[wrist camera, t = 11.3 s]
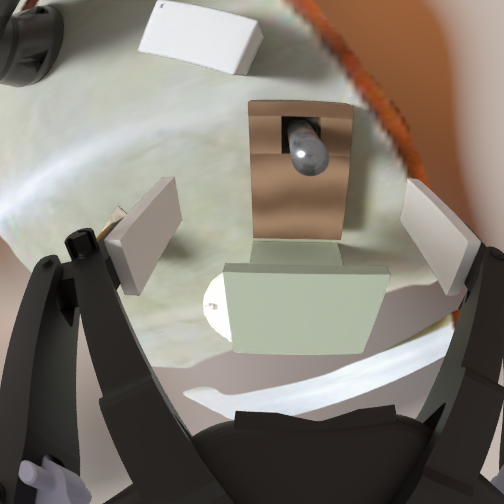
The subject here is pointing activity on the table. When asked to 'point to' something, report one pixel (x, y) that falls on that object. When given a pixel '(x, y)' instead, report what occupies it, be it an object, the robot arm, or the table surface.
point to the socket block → (290, 180)
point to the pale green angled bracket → (301, 300)
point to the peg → (306, 149)
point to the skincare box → (202, 36)
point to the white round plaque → (217, 307)
